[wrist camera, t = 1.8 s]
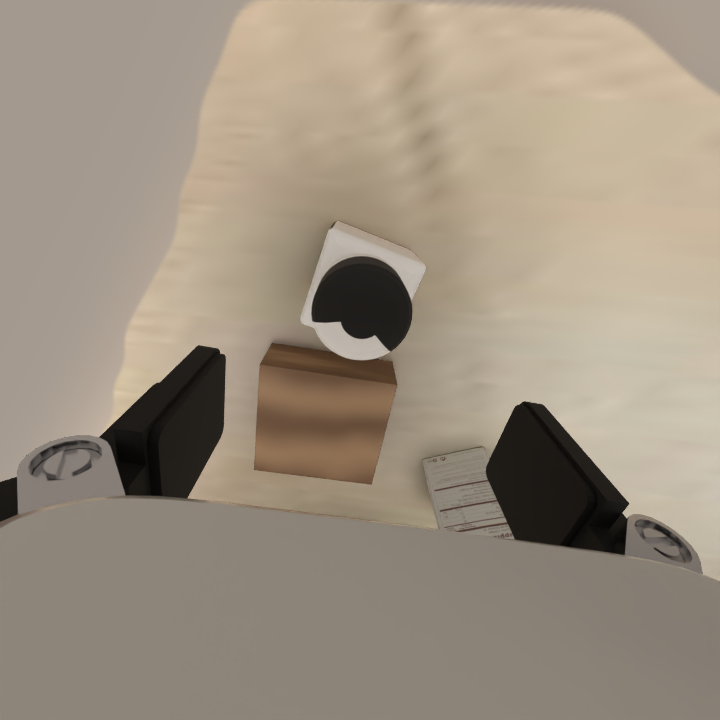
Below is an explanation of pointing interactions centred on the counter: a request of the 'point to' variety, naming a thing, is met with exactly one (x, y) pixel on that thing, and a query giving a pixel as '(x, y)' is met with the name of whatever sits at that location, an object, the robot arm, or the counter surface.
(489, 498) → the supplement box
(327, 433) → the walnut block
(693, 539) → the counter surface
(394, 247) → the medicine bottle
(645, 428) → the counter surface
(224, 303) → the counter surface
